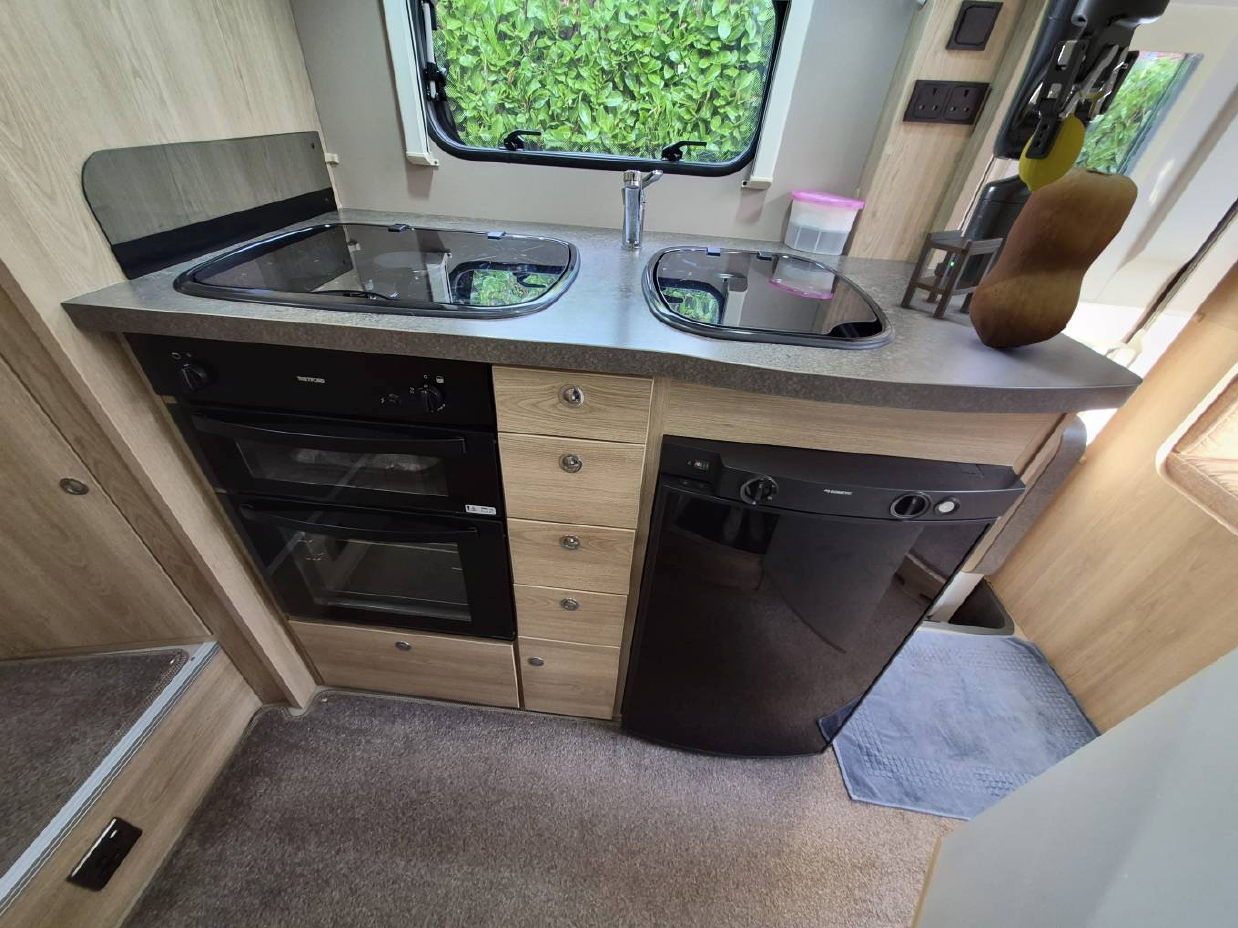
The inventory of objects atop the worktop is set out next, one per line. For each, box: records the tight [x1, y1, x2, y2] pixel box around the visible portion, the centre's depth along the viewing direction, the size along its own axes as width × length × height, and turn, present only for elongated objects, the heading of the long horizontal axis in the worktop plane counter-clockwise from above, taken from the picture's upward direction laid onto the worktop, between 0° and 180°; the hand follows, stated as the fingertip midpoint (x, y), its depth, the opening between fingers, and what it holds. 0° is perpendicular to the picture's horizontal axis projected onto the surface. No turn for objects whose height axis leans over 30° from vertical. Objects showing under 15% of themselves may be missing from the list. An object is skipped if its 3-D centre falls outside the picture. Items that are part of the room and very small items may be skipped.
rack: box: [899, 229, 1003, 320], centre depth 91 cm, size 8×10×13 cm
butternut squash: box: [968, 166, 1139, 349], centre depth 73 cm, size 14×13×25 cm
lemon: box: [1017, 112, 1086, 192], centre depth 58 cm, size 6×6×8 cm
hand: (1048, 158), depth 58 cm, fingers closed on lemon, 5 cm apart
